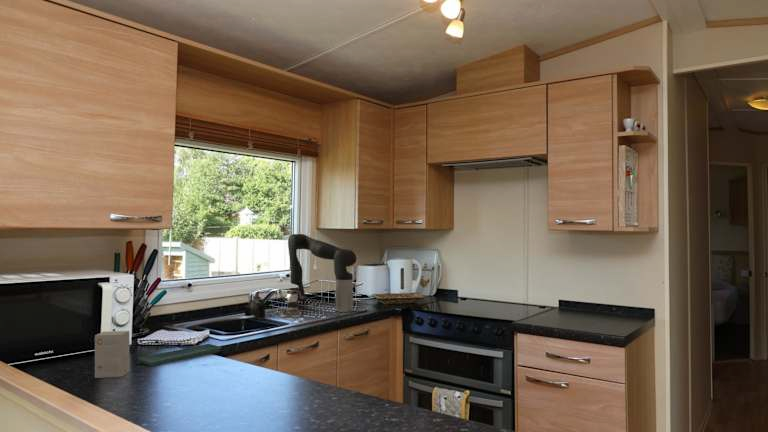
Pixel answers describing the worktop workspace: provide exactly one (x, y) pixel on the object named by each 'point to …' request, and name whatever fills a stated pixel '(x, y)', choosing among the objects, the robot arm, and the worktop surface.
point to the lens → (292, 301)
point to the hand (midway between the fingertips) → (292, 301)
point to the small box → (112, 354)
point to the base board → (291, 316)
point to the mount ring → (290, 312)
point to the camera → (256, 308)
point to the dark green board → (180, 354)
